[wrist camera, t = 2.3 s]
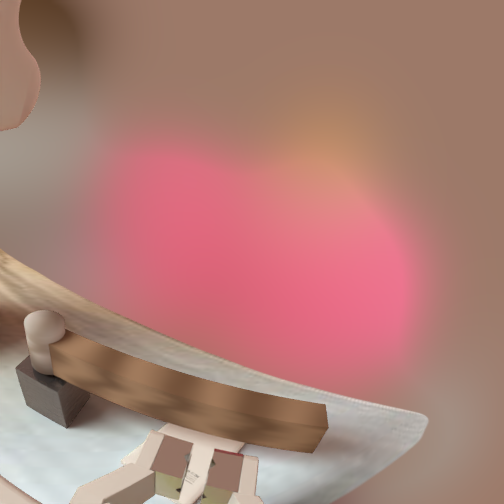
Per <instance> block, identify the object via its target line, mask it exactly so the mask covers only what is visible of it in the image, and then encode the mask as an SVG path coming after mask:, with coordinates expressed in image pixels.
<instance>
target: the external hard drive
mask: <svg viewBox="0 0 504 504" xmlns="http://www.w3.org/2000/svg"><path fill="white" fill-rule="evenodd" d="M157 432H160V433H163V434H166V435H169V436H172V437H175V438H178V439H181V440H184V441H188V442H191V443H194V445H193V450H192V453H191V455H192V456H191V460H190V464H189V468H188V472H187V475H186V477H185V479H184V484H183V488H182V491H181V495H180V498H179V500H175V499H172V498H168V497H167V498H168V499H170V500H171V501H173V502H174V503H176V504H193V503H194V502H195V501H196V500H197V499H198V498H199V497H200V496H201V495H202V493H203V490H204V486H205V483H206V482H205V481H206V477H207V473H208V469H209V466H210V462H211V459H212V455H213V452H214V449H220V450H224V451H229V452H234V453H238V452H239V450H240V449H241V448H242V447H243V445H244V444H245V443H244V442H239V441H235V440H230V439H226V438H222V437H217V436H213V435H209V434H206V433H202V432H198V431H195V430H191V429H188V428H184V427H181V426H177V425H174V424H171V423H167V424H166V425H164V426H163V427H162V428H161V429H160V430H158V431H157ZM143 444H144V442H143V443H142V444H141V445H140V446H138V447H137V448H136V449H135V450H133V451H132V452H131V453H130V454H128V455H127V456H126V457H124V458H123V459H122V460H121V463H122V464H123V465H124V466H125V465H127V464H129V463H133V464H135V462H136V460H137V457H138V455H139V453H140V451H141V449H142V447H143Z"/></svg>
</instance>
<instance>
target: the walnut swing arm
mask: <svg viewBox="0 0 504 504" xmlns="http://www.w3.org/2000/svg"><path fill="white" fill-rule="evenodd" d="M24 327H25V333H26V339H27V344H28V349H29V354H30V359H31V364H32V366H33V368H34V369H35V370H36V371H37V372H39V373H41V374H45V375H55V376H57V377H59V378H61V379H63V380H65V381H67V382H69V383H71V384H73V385H75V386H77V387H79V388H81V389H83V390H86V391H88V392H90V393H92V394H94V395H97V396H99V397H101V398H104V399H106V400H108V401H111V402H113V403H116V404H118V405H121V406H123V407H126V408H128V409H131V410H133V411H136V412H139V413H142V414H144V415H147V416H150V417H153V418H156V419H159V420H162V421H165V422H168V423H171V424H174V425H177V426H181V427H184V428H188V429H191V430H195V431H198V432H202V433H206V434H209V435H213V436H217V437H222V438H226V439H230V440H235V441H239V442H244V443H249V444H254V445H259V446H265V447H270V448H277V449H283V450H290V451H297V452H305V453H313V451H314V450H315V448H316V447H317V445H318V444H319V442H320V440H321V439H322V437H323V436H324V434H325V432H326V431H327V429H328V428H329V427H328V420H327V412H326V405H325V404H319V403H312V402H306V401H300V400H294V399H289V398H283V397H278V396H273V395H268V394H264V393H259V392H254V391H250V390H245V389H241V388H237V387H233V386H229V385H225V384H221V383H217V382H213V381H209V380H206V379H202V378H199V377H195V376H192V375H188V374H185V373H181V372H178V371H175V370H172V369H169V368H165V367H162V366H159V365H156V364H153V363H150V362H147V361H144V360H142V359H139V358H136V357H133V356H130V355H128V354H125V353H122V352H119V351H117V350H114V349H112V348H109V347H106V346H104V345H101V344H99V343H97V342H94V341H92V340H89V339H87V338H84V337H82V336H80V335H77V334H75V333H73V332H71V331H68V330H66V329H65V321H64V318H63V317H62V316H61V315H60V314H59V313H57V312H54V311H50V310H39V311H35V312H32V313H30V314H29V315H28V316H27V317H26V318H25V320H24Z"/></svg>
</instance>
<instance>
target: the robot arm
mask: <svg viewBox="0 0 504 504" xmlns="http://www.w3.org/2000/svg"><path fill="white" fill-rule="evenodd" d="M20 2H21V0H0V131H4V130H8V129H13V128H17V127H18V126H19V125H21V124H22V123H23V122H24V120H25V119H26V118H27V117H28V115H29V114H30V113H31V111H32V109H33V108H34V106H35V103H36V101H37V98H38V95H39V92H40V83H41V76H40V70H39V67H38V64H37V62H36V60H35V59H34V57H33V56H32V55H31V54H30V53H29V51H28V50H27V48H26V47H25V45H24V42H23V40H22V37H21V34H20V29H19V19H18V18H19V7H20ZM193 445H194V443H191V442H188V441H184V440H181V439H178V438H175V437H172V436H169V435H166V434H163V433H160V432H157V431H154V430H151V431H150V432H149V434H148V436H147V438H146V440H145V442H144V444H143V447H142V449H141V451H140V453H139V455H138V457H137V460H136V462H135V464H133V463H129V464H127V465H125V466H123V467H121V468H119V469H117V470H115V471H113V472H111V473H109V474H107V475H104V476H102V477H100V478H98V479H96V480H94V481H92V482H89V483H87V484H85V485H83V486H80V487H78V489H77V490H76V492H75V494H74V496H73V497H72V499H71V501H70V503H69V504H142V503H144V502H145V501H147V500H148V499H150V498H151V497H152V496H154V495H155V494H158V495H161V496H164V497H168V498H172V499H175V500H179V498H180V495H181V491H182V488H183V484H184V479H185V477H186V475H187V472H188V468H189V464H190V460H191V456H192V455H191V453H192V450H193ZM258 462H259V460H258V457H253V456H247V455H243V454H239V453H234V452H229V451H224V450H220V449H214V452H213V455H212V459H211V462H210V466H209V469H208V473H207V477H206V481H205V482H206V483H205V486H204V490H203V493H202V498H201V502H200V504H264V503H263V502H262V500H261V498H260V497H259V496H255V491H256V482H257V472H258ZM0 504H42V503H40V502H39V501H37V500H35V499H34V498H32V497H31V496H29V495H28V494H26V493H25V492H23V491H22V490H20V489H19V488H18V487H16V486H15V485H13V484H12V483H11V482H9V481H8V480H6V479H5V478H4V477H2V476H1V475H0Z"/></svg>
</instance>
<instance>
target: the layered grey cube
mask: <svg viewBox="0 0 504 504" xmlns="http://www.w3.org/2000/svg"><path fill="white" fill-rule="evenodd" d="M16 372H17V376H18V379H19V382H20V386H21V389H22V392H23V395H24V398H25V401H26V404H27V406H29V407H30V408H32V409H34V410H35V411H37V412H39V413H40V414H42V415H44V416H45V417H47V418H49V419H51V420H52V421H54V422H56V423H58V424H60V425H61V426H63V427H65V428H68V426H69V425H70V424H71V422H72V421H73V419H74V418H75V417H76V415H77V414H78V413H79V411H80V410H81V408H82V407H83V406H84V404H85V403H86V402H87V400H88V399H89V398H90V392H88V391H86V390H83V389H81V388H79V387H77V386H75V385H73V384H71V383H69V382H67V381H65V380H63V379H61V378H59V377H57V376H55V375H45V374H41V373H39V372H37V371H36V370H35V369H34V368H33V366H32V364H31V359H30V355H29V356H28V357H27V358H26V359H25V360H23V361H22V362H21V363H20V364H19V365H18V366H17V367H16Z"/></svg>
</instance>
